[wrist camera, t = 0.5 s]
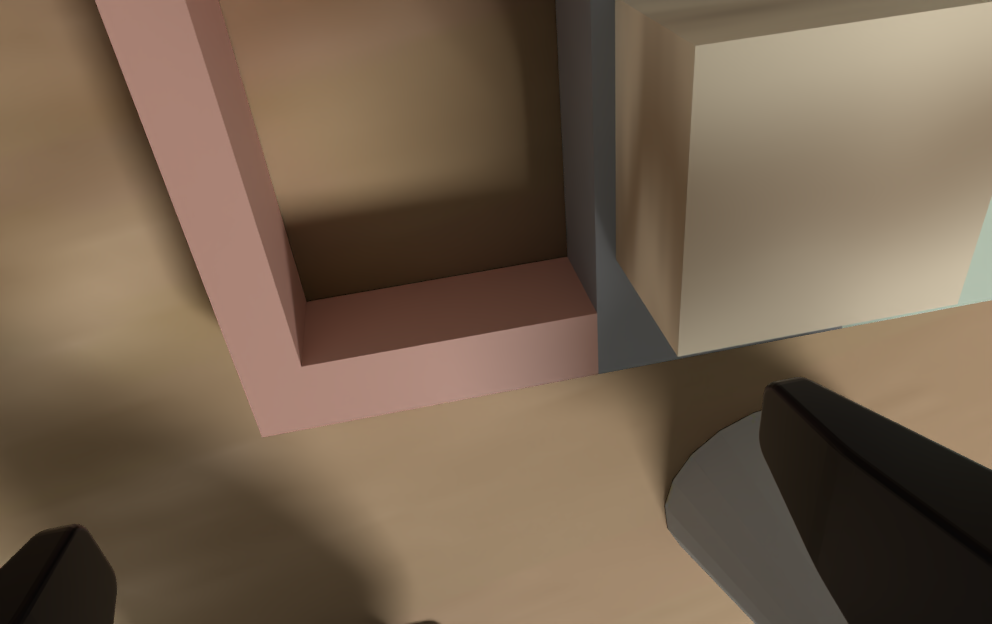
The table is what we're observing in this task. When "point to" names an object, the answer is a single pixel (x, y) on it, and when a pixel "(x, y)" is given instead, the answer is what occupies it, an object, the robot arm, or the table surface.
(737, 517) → the lava lamp
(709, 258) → the block
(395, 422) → the table surface
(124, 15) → the pink rimmed tray
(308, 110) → the table surface
